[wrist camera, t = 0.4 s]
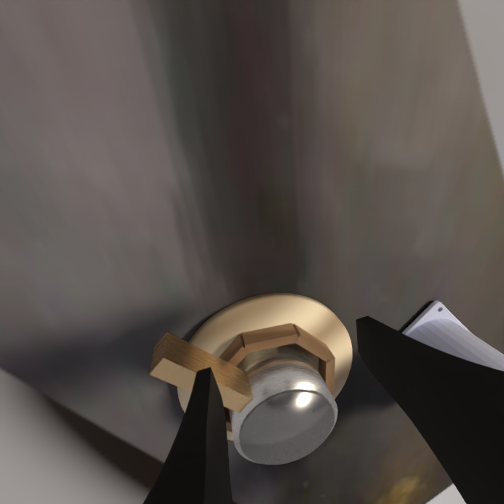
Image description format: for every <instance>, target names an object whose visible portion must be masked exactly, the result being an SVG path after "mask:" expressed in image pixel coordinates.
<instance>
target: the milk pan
mask: <svg viewBox="0 0 504 504" xmlns="http://www.w3.org/2000/svg"><path fill="white" fill-rule="evenodd" d="M208 367H211V369H212V371H213V374H214V377H215V380H216V382H217V385H218V388H219V391H220V393H221V396H222V400H223V406H224V407H227V408H229V413H230V420H231V427H232V433H233V440H234V444H235V447H236V449H237V451H238V452H239V453H240V454H241V455H242V456H243V457H244V458H246V459H247V460H250V461H252V462H255V463H259V464H265V465H279V464H285V463H289V462H292V461H295V460H298V459H300V458H302V457H304V456H306V455H308V454H309V453H311V452H312V451H314V450H315V449H316V448H318V447H319V446H320V445H321V444H322V443H323V442H324V441H325V439H326V438H327V437H328V435H329V434H330V433H331V431H332V429H333V428H334V425H335V423H336V420H337V415H338V409H337V404H336V402H335V399H334V398H333V396H332V394H331V392H330V391H329V389H328V387H327V385H326V384H325V382H324V380H323V379H322V377H321V375H320V373H319V372H318V370H317V368H316V366H315V365H314V363H313V361H312V359H311V358H310V356H309V354H308V353H307V352H306V351H305V350H304V349H302V348H301V347H299V346H297V345H295V344H288V345H283V346H278V347H274V348H269V349H264V350H260V351H255V352H250V353H248V354H247V355H246V356H245V357H244V358H243V359H242V361H241V362H240V363H239V364H238V365H237V366H236V367H235V366H234V365H232V364H230V363H228V362H226V361H224V360H222V359H220V358H218V357H216V356H214V355H212V354H210V353H208V352H206V351H204V350H202V349H200V348H198V347H196V346H194V345H192V344H190V343H188V342H186V341H184V340H183V339H181V338H179V337H177V336H175V335H173V334H171V333H169V332H166V333H165V334H164V335H163V337H162V338H161V339H160V340H159V341H158V343H157V344H156V345H155V346H154V352H153V357H152V363H151V369H150V375H152V376H154V377H157V378H159V379H161V380H164V381H166V382H168V383H171V384H173V385H175V386H178V387H180V388H182V389H185V390H187V391H189V392H192V388H193V384H194V380H195V376H196V373H197V371H199V370H202V369H205V368H208Z"/></svg>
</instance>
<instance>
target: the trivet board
mask: <svg viewBox="0 0 504 504" xmlns="http://www.w3.org/2000/svg"><path fill="white" fill-rule="evenodd" d="M188 343H190V344H192V345H194V346H196V347H198V348H200V349H202V350H204V351H206V352H208V353H210V354H212V355H214V356H216V357H218V358H220V359H222V360H224V361H226V362H228V363H230V364H232V365H234V366H235V367H236V366H237V365H238V364H239V363H240V362H241V361H242V359H243V358H244V357H245V356H246V355H247V354H248V353H250V352H255V351H260V350H264V349H269V348H274V347H278V346H283V345H288V344H295V345H297V346H299V347H301V348H302V349H304V350H305V351H306V352H307V353H308V354H309V356H310V358H311V359H312V361H313V363H314V365H315V366H316V368H317V370H318V372H319V373H320V375H321V377H322V379H323V380H324V382H325V384H326V385H327V387H328V389H329V391H330V392H331V394H332V396H333V398H334V399H335V398H336V397H337V395H338V394H339V393H340V391H341V389H342V388H343V386H344V384H345V382H346V380H347V378H348V375H349V372H350V369H351V363H352V345H351V340H350V337H349V334H348V332H347V330H346V328H345V327H344V325H343V324H342V323H341V321H340V320H339V319H338V318H337V317H336V315H335V314H334V313H333V312H332V311H331V310H330V309H329V308H327V307H326V306H325V305H323V304H322V303H320V302H318V301H316V300H314V299H312V298H309V297H307V296H303V295H299V294H293V293H267V294H260V295H256V296H252V297H248V298H245V299H243V300H240V301H237V302H235V303H233V304H231V305H229V306H227V307H225V308H223V309H222V310H220V311H219V312H217V313H216V314H214V315H213V316H212V317H211V318H209V319H208V320H207V321H206V322H204V324H203V325H202V326H201V327H200V328H199V329H198V330H197V331H196V332H195V333H194V335H193V336H192V337H191V339H190V340H189V342H188ZM177 391H178V398H179V401H180V404H181V407H182V409H183V411H184V412H185V411H186V408H187V405H188V402H189V399H190V395H191V392H189V391H187V390H185V389H182V388H180V387H178V386H177ZM224 412H225V418H226V428H227V440H232V441H234V440H233V433H232V427H231V420H230V413H229V408H227V407H224Z"/></svg>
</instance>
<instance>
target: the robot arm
mask: <svg viewBox="0 0 504 504" xmlns="http://www.w3.org/2000/svg"><path fill="white" fill-rule="evenodd" d="M356 326H357V339H358V352H359V354H360V355H361V357H362V358H363V360H364V361H365V363H366V365H367V366H368V368H369V369H370V371H371V372H372V373H373V374H374V376H375V377H376V378H377V379H378V380H379V382H380V383H381V384H382V385H383V387H384V388H385V389H386V390H387V391H388V393H389V394H390V395H391V396H392V397H393V399H394V400H395V401H396V402H397V403H398V405H399V406H400V407H401V408H402V409H403V411H404V412H405V413H406V414H407V416H408V417H409V418H410V419H411V421H412V422H413V423H414V425H415V426H416V428H417V429H418V431H419V432H420V433H421V435H422V436H423V438H424V439H425V441H426V442H427V444H428V445H429V446H430V448H431V449H432V451H433V452H434V454H435V455H436V457H437V458H438V460H439V461H440V463H441V464H442V466H443V467H444V469H445V471H446V472H447V474H448V475H449V477H450V478H451V480H452V482H453V483H454V485H455V486H456V488H457V489H458V491H459V493H460V494H461V496H462V497H463V499H464V501H465V502H466V504H504V355H503V354H502V353H500V352H499V351H497V350H496V349H494V348H493V347H491V346H490V345H488V344H487V343H485V342H484V341H482V340H481V339H479V338H478V337H476V336H475V335H473V334H472V333H471V332H470V331H469V330H468V329H467V328H466V327H465V326H464V325H463V324H462V323H461V322H460V321H459V320H458V319H457V318H456V317H455V316H454V315H453V314H452V313H451V312H450V311H449V310H448V309H447V308H446V307H445V306H444V305H443V304H442V303H440V302H439V301H434V302H432V303H431V304H430V305H429V306H428V307H427V308H426V309H425V310H424V311H423V312H422V313H421V314H420V315H419V316H418V317H417V318H416V319H415V320H414V321H413V322H412V323H411V324H410V325H409V326H408V327H407V328H406V329H405V330H404V331H403V332H402V333H401V332H399V331H397V330H395V329H393V328H391V327H389V326H387V325H385V324H383V323H381V322H379V321H377V320H375V319H373V318H371V317H369V316H366V317H363V318H360V319H356ZM143 504H233V501H232V494H231V486H230V474H229V459H228V443H227V428H226V418H225V412H224V406H223V400H222V396H221V393H220V391H219V388H218V385H217V382H216V380H215V377H214V374H213V371H212V369H211V367H208V368H205V369H202V370H199V371H197V373H196V376H195V380H194V384H193V388H192V392H191V395H190V399H189V402H188V405H187V408H186V411H185V414H184V417H183V420H182V423H181V425H180V428H179V430H178V433H177V436H176V438H175V441H174V443H173V445H172V448H171V450H170V452H169V454H168V457H167V459H166V461H165V463H164V465H163V467H162V469H161V471H160V473H159V475H158V477H157V479H156V481H155V483H154V485H153V487H152V489H151V490H150V492H149V494H148V496H147V498H146V500H145V501H144V503H143Z"/></svg>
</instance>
